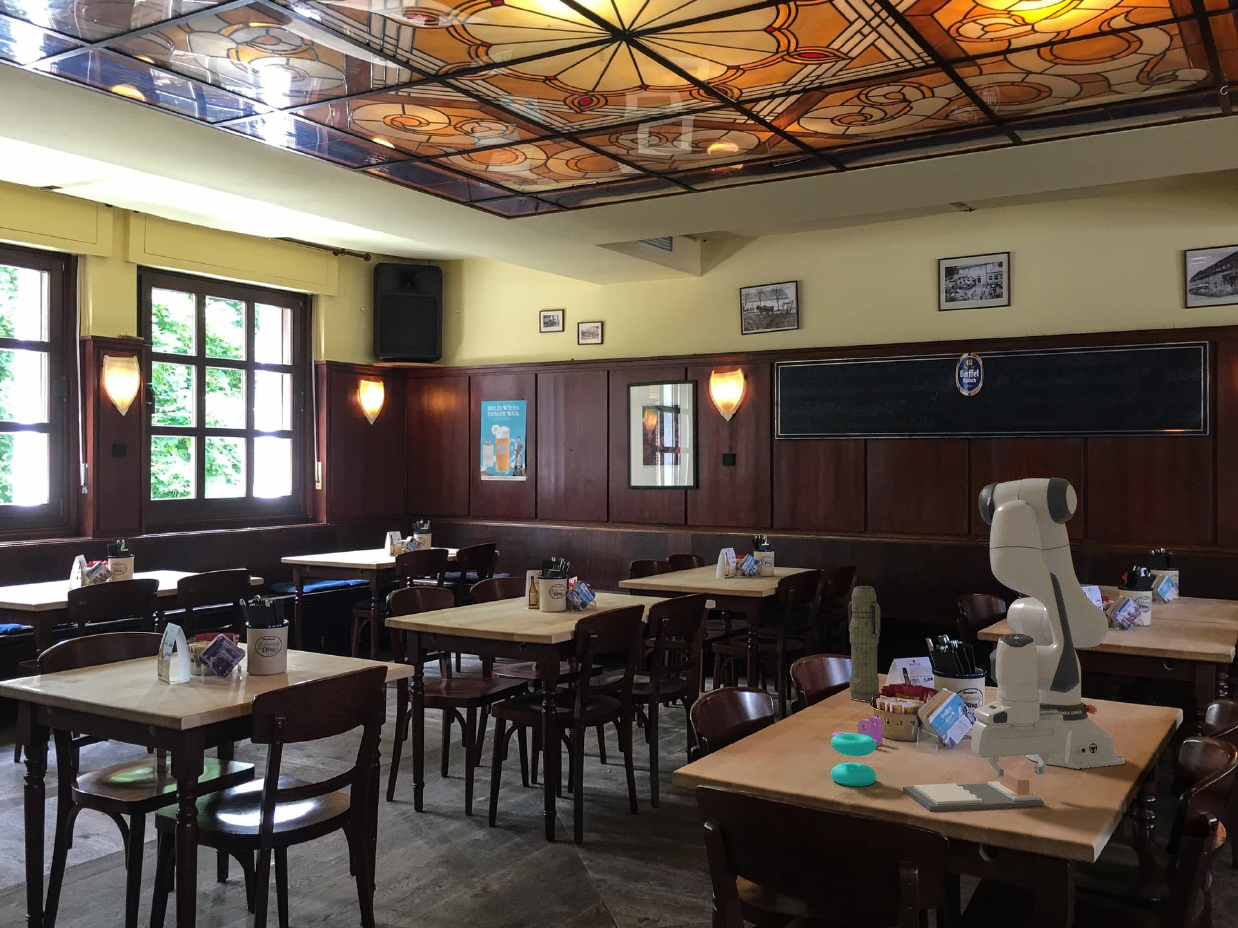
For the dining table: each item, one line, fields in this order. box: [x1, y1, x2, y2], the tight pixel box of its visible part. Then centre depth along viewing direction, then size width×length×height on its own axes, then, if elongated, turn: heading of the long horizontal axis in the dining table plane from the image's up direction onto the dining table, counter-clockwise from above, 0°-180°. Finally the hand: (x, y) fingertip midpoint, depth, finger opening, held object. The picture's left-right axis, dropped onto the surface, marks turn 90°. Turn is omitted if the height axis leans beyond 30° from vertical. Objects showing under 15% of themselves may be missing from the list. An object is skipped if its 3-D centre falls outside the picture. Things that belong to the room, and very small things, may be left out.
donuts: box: [830, 732, 877, 787], centre depth 241 cm, size 10×10×10 cm
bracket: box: [831, 715, 883, 747], centre depth 278 cm, size 13×6×7 cm, turn 43°
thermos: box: [847, 585, 881, 701], centre depth 332 cm, size 9×12×35 cm
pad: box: [902, 783, 1045, 812], centre depth 228 cm, size 25×14×2 cm, turn 98°
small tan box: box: [986, 769, 1042, 801], centre depth 229 cm, size 6×12×4 cm, turn 8°
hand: (1019, 775), depth 229 cm, fingers open, 8 cm apart
